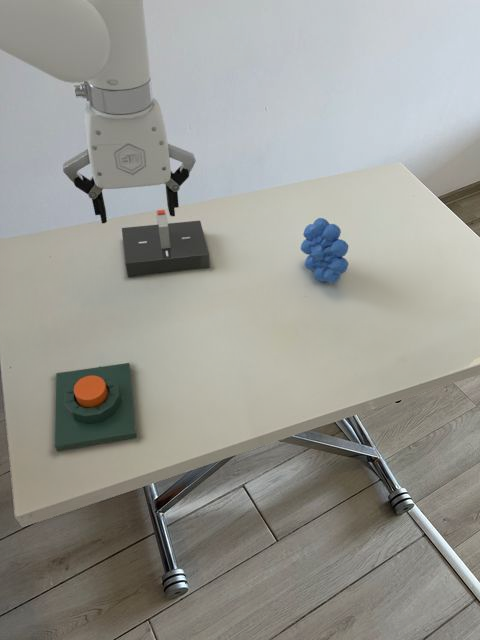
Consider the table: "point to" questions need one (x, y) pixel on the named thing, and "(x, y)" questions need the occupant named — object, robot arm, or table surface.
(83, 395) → the button
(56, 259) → the table surface
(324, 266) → the grapes
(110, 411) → the control block
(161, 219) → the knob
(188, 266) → the lever switch base
